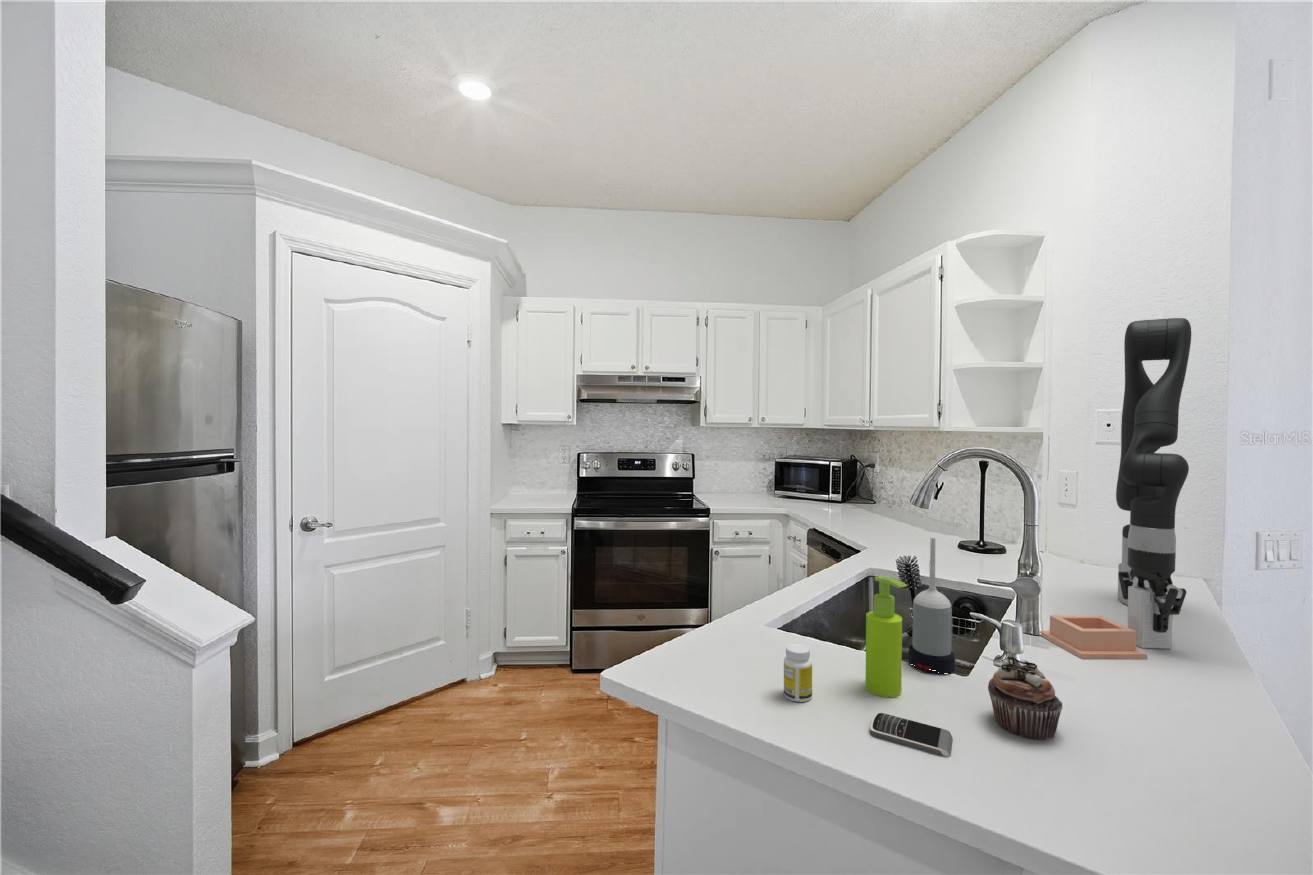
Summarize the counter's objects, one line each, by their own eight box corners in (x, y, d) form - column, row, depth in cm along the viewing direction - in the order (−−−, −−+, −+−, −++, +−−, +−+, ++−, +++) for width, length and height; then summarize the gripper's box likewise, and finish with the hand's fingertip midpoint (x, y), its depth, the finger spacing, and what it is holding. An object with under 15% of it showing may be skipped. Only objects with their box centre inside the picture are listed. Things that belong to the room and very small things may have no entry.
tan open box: (1040, 635, 122) (1040, 613, 121) (1099, 635, 121) (1099, 613, 121) (1081, 658, 110) (1082, 634, 109) (1147, 659, 109) (1147, 634, 109)
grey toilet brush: (915, 673, 103) (917, 541, 103) (903, 655, 111) (905, 532, 111) (961, 676, 102) (964, 543, 101) (946, 657, 110) (948, 534, 109)
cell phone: (875, 719, 88) (875, 710, 88) (953, 740, 83) (953, 731, 83) (867, 738, 83) (868, 728, 83) (950, 761, 77) (950, 752, 77)
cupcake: (1065, 751, 79) (1066, 682, 79) (986, 731, 84) (987, 666, 84) (1059, 720, 87) (1060, 658, 87) (987, 703, 92) (989, 645, 92)
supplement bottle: (812, 691, 96) (813, 644, 96) (811, 705, 92) (811, 655, 92) (785, 687, 98) (785, 641, 98) (782, 700, 93) (782, 651, 93)
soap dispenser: (890, 703, 92) (892, 585, 92) (858, 685, 98) (859, 575, 98) (913, 695, 95) (915, 581, 94) (881, 678, 101) (882, 571, 101)
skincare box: (1156, 641, 118) (1157, 586, 118) (1172, 649, 114) (1174, 592, 114) (1125, 640, 119) (1127, 585, 118) (1140, 648, 115) (1142, 591, 114)
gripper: (1202, 555, 109) (1200, 641, 109) (1139, 540, 123) (1137, 615, 123) (1164, 555, 109) (1162, 640, 109) (1106, 540, 123) (1104, 615, 123)
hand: (1149, 626), depth 116 cm, fingers closed on skincare box, 4 cm apart
